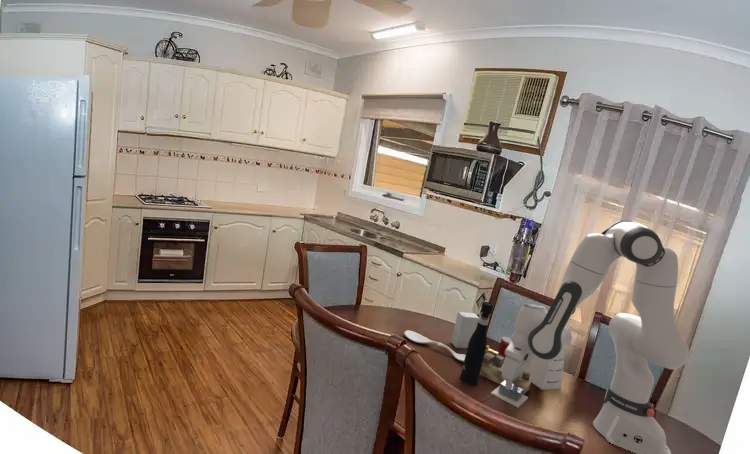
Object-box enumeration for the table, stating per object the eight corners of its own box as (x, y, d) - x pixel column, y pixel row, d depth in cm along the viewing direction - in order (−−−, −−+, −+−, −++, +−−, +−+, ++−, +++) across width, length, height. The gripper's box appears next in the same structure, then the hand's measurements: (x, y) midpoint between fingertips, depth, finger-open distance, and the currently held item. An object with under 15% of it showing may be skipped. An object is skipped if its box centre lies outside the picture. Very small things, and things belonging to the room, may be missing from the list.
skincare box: (467, 343, 195) (474, 312, 193) (472, 350, 190) (480, 318, 187) (450, 342, 193) (457, 310, 191) (455, 348, 187) (463, 315, 185)
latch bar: (497, 354, 167) (499, 350, 167) (496, 356, 165) (497, 351, 165) (483, 348, 170) (484, 343, 170) (481, 349, 169) (482, 344, 169)
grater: (540, 374, 179) (553, 328, 176) (560, 388, 170) (574, 340, 167) (521, 375, 174) (534, 328, 171) (541, 389, 165) (555, 340, 162)
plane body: (528, 389, 162) (534, 369, 161) (522, 395, 157) (528, 374, 156) (484, 368, 173) (489, 349, 172) (477, 373, 167) (482, 353, 166)
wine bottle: (480, 382, 160) (500, 305, 156) (471, 386, 155) (491, 307, 151) (465, 374, 164) (484, 299, 160) (456, 378, 160) (475, 301, 155)
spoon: (468, 369, 170) (470, 361, 169) (399, 338, 186) (401, 330, 186) (476, 363, 177) (478, 355, 177) (409, 333, 194) (411, 326, 194)
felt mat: (527, 398, 155) (528, 397, 155) (518, 407, 147) (518, 406, 147) (501, 385, 161) (501, 384, 161) (490, 393, 153) (491, 392, 153)
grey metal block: (521, 397, 154) (523, 389, 153) (517, 401, 150) (519, 393, 150) (502, 388, 158) (504, 380, 157) (498, 392, 154) (500, 383, 154)
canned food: (516, 371, 176) (522, 346, 175) (496, 366, 178) (502, 341, 176) (513, 363, 184) (520, 339, 182) (494, 358, 185) (501, 334, 183)
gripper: (523, 338, 162) (514, 372, 164) (503, 350, 145) (493, 388, 147) (540, 345, 158) (530, 380, 160) (521, 358, 142) (511, 397, 144)
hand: (512, 384), depth 153 cm, fingers open, 8 cm apart
